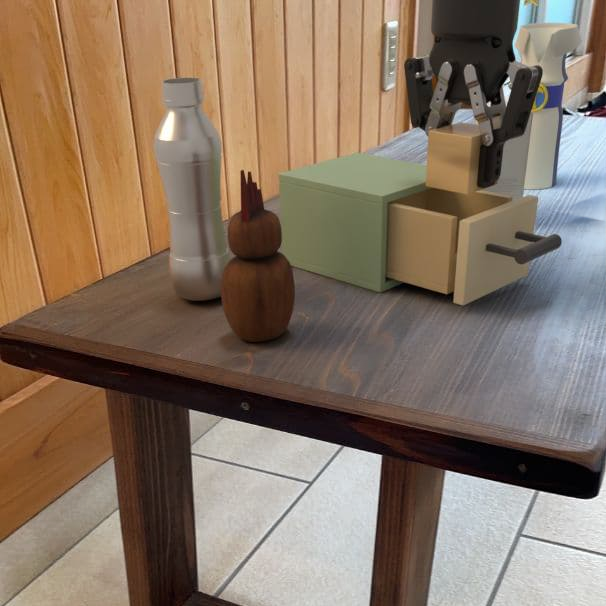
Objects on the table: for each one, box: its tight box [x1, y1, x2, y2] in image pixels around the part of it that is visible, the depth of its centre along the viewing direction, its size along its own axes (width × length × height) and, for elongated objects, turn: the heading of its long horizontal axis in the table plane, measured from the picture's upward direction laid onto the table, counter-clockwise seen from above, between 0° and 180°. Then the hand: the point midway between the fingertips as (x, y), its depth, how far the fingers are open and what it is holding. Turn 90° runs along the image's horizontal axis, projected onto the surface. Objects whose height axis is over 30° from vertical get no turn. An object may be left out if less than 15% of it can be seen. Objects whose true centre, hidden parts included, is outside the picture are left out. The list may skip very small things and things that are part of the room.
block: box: [426, 122, 498, 195], centre depth 81 cm, size 5×5×5 cm
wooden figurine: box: [220, 169, 296, 343], centre depth 76 cm, size 7×6×15 cm
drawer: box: [385, 188, 563, 306], centre depth 86 cm, size 18×11×8 cm, turn 45°
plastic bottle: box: [152, 77, 232, 301], centre depth 83 cm, size 6×7×20 cm
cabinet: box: [278, 152, 431, 293], centre depth 93 cm, size 15×13×10 cm
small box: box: [474, 99, 533, 201], centre depth 104 cm, size 8×6×13 cm
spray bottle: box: [514, 0, 583, 190], centre depth 114 cm, size 8×9×25 cm
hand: (461, 180), depth 83 cm, fingers closed on block, 5 cm apart
